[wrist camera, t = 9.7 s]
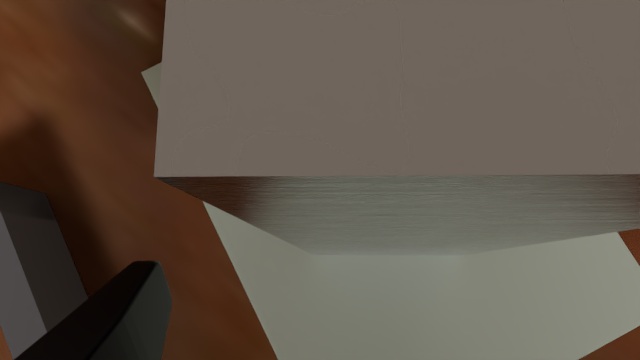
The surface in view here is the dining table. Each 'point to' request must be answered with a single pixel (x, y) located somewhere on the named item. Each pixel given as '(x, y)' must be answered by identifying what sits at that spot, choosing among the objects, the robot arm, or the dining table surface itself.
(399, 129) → the steel post
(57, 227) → the c collar
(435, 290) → the off-white mat
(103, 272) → the dining table surface
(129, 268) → the robot arm
